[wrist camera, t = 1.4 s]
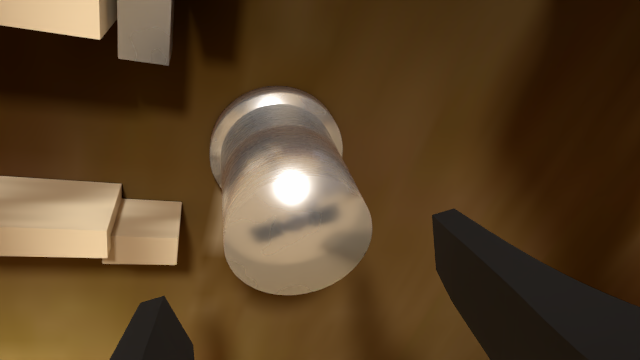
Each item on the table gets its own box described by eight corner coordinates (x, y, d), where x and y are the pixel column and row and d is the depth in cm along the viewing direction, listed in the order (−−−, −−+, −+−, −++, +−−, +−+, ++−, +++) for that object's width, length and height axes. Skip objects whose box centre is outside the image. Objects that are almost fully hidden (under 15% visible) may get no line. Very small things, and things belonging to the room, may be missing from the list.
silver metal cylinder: (350, 95, 17) (406, 172, 12) (323, 203, 20) (360, 303, 15) (216, 76, 16) (218, 155, 11) (204, 196, 18) (201, 304, 13)
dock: (240, -169, 12) (247, -187, 10) (201, 227, 19) (200, 276, 17) (-311, -330, 9) (-501, -415, 7) (-123, 214, 16) (-185, 272, 13)
